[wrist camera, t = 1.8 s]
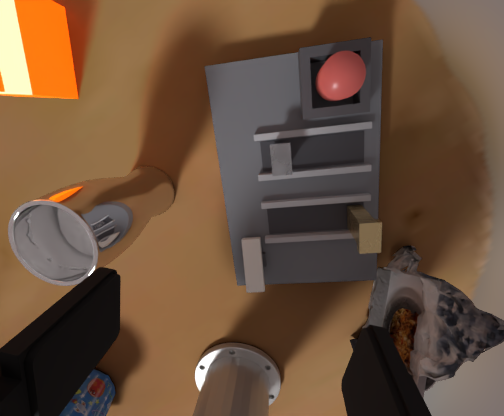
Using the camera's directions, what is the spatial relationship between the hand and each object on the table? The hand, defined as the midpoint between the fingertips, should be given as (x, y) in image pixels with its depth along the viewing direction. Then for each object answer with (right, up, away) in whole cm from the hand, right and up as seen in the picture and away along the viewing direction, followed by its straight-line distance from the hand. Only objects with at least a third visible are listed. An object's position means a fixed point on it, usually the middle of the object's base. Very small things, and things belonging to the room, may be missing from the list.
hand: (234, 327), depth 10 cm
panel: (+6, +8, +20) cm, 23 cm away
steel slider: (+4, +10, +17) cm, 20 cm away
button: (+8, +15, +13) cm, 22 cm away
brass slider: (+11, +4, +18) cm, 22 cm away
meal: (+17, -6, +24) cm, 30 cm away
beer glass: (-12, +7, +23) cm, 27 cm away
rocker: (+1, -2, +20) cm, 20 cm away
